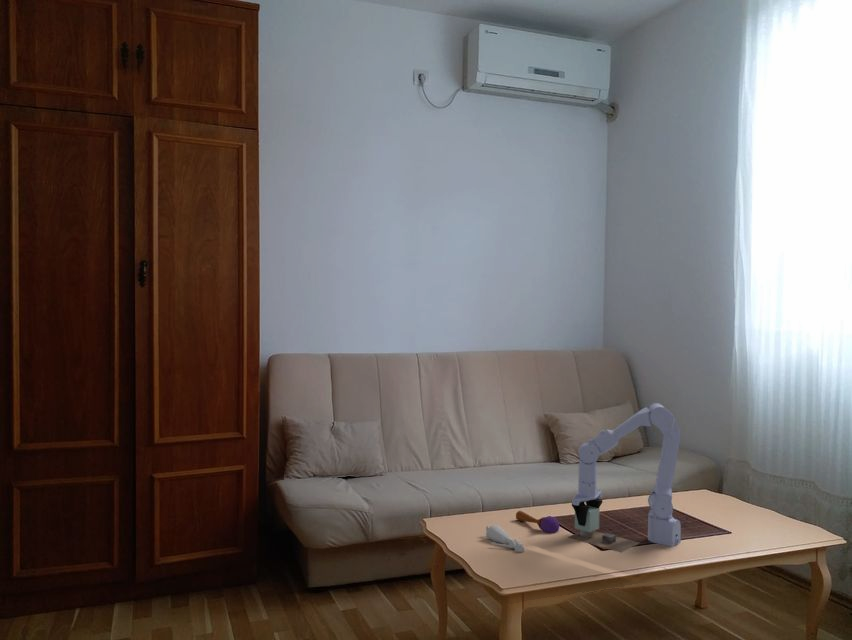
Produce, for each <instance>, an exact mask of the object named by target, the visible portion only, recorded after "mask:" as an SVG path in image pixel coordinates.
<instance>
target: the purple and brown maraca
mask: <svg viewBox="0 0 852 640" xmlns="http://www.w3.org/2000/svg"><path fill="white" fill-rule="evenodd" d="M515 518H516V520H517V521H520V522H527V523H533V524H536V525H537V526H538V528H539V529H540V530H541V532H543V533H548V534H555V533H558V532H559V530H560V523H559V521H558V519H557V518H556V517H555V516H551V515H548V516H545V517H541V518H539V519H537V518H535V517H533V516H531V515H529V514H528V513H526V512H524V511H523V510H519V511H517V512H516V513H515Z"/></svg>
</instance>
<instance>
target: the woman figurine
mask: <svg viewBox="0 0 852 640" xmlns="http://www.w3.org/2000/svg"><path fill="white" fill-rule="evenodd" d="M485 531H486V532H485V535H486V538H487V539H488V540H490V541H492V542H490V543H491V545H493V546H501V547H505V548H510V549H514V551H515V552H516V553H524V551H525V547H524V545H523V544H522V543H521V541H522V537H519V540H518V541H517V539H516V538H513V539H512V537H510V535H509V534H508V533H507V532H506V531H505V530H504V528H503V527H502V526H500V525H498V524H492V525H490V526H489V527H488V525H487V526H486V527H485Z"/></svg>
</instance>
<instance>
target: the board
mask: <svg viewBox="0 0 852 640" xmlns="http://www.w3.org/2000/svg"><path fill="white" fill-rule="evenodd" d="M567 538H568V539H572V540H575V541H578V542H582V543H586V544H589V545H593V546H596V547H600V548H604V549H607V550H610V551H614V552H617V553H623V552H625V551H627V550H630V549H631V548H633V547H635V546H637V545H639V544H641V542H638V541H635V540H630V539H627V538H623V537H620V536H619V537H618V536H617V535H615V534H612V533H608V532H606V533H604V532H601V531H597V530H595V531H592V532H586V531H582V530H579V532H576V533H573V534H571V535H569V536H567Z"/></svg>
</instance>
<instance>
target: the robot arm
mask: <svg viewBox="0 0 852 640" xmlns="http://www.w3.org/2000/svg"><path fill="white" fill-rule="evenodd" d="M651 423H652V424H653V426H655V427H656V428H658V429H659V430H660V432H661V433H662V435H663V439H662V444H661V445H662V446H661V450H660V456H659V462H658V466H657V467H658V468H657V473H656V480H655V483H654V485H653V487H652V492H651V493H650V494H649V496H648V499H647V503H648V505H649V507H650V510H649V511H648V513H647V515H648V518H647V519H648V520H647V521H648V522H647V523H648V524H647V540H648V541H649V542H651V543H654V544H659V545H663V546H668V547H672V548H673V547H675V546H677V545H679V544H680V543H681V540H682V537H681V535H682V534H681V533H682V525H681V521H680V520H679V519H675V518H674V517H673V513H674V506H673V502H672V499H673V490H672V489H673V488H672V487H673V482H674V477H675V470H676V464H677V459H678V453H679V448H680V442H681V437H682V431H681V429H680V427H679V425H678V423H677V421H676V418H675V415H674V414H672V412H671V411H670V410H669V409H668V408H666V407H665V406H664V405H663V404H661V403H659V402H654V403H650V404H649V405H648V406H646V407H644V408H642V409H640V410H638V411H637V412H636V413H634V414H633V415H632V416H631V417H629V418H627V419H626V420H625V421H623V422H622V423H621V424H620V425H618V426H617V427H615V428H614V429H611V430H610V429H608V428H607V429H605V430H604V429H601V430H599V434H598V435H596V436H595V437H592V438H591V439H590V438H589V439H588V440H587V442H583V443H581V445H580V446H579V448H578V450H577V454H578V456H579V461H578V487H577V488H578V489H577V491H578V492H575V496H574V497H573V498H572V502H571V506H572V508H573V510H574V514H575V513H576V516H577V520H578V524H579V525H581V526H585V524H586V517H587V512H588V509H589V507H590V506H591V507H595V508H599V509H600V508H601V505H602V504H603V499H601V498H602V496H603V494H602V493H603V492H602V491H601V490H597V489H598V487H597V486H598V485H597V483H598V482H597V479H598V476H597V475H598V467H597V461H598V459H599V456H602V455H604V454H606V453H607V452H608V451H610V450H612V449H613V448H614V447H617V446H618V444H619V441H620V439H621V438H622V437H624V436H625V435H627V434H629V433H631V432H632V431H634V430H636V429H637V428H640V427H651V426H652V424H651Z"/></svg>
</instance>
